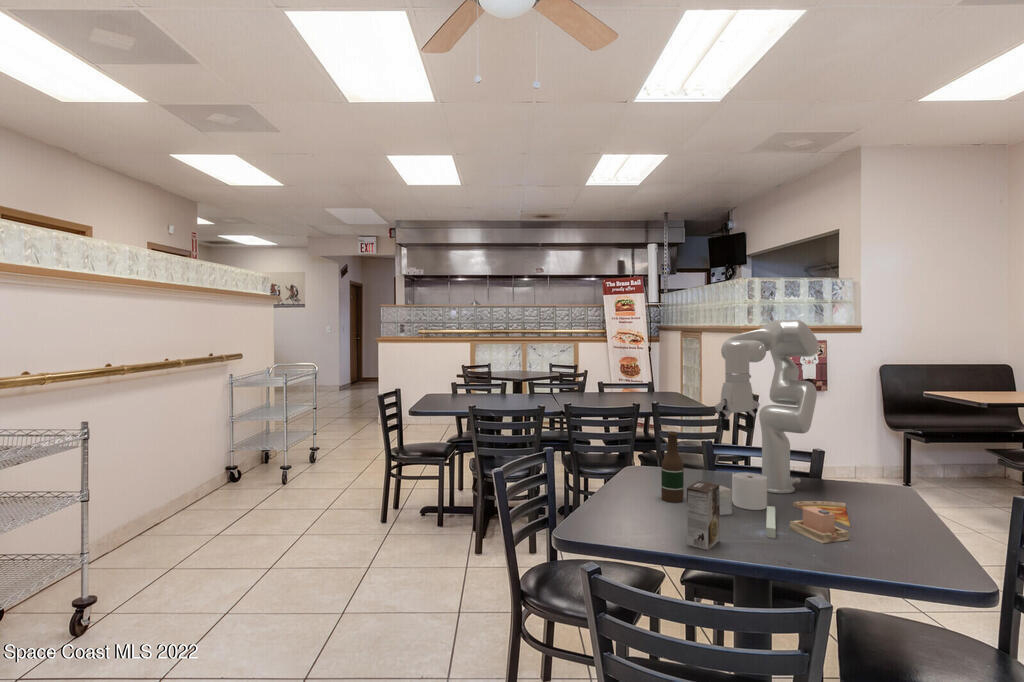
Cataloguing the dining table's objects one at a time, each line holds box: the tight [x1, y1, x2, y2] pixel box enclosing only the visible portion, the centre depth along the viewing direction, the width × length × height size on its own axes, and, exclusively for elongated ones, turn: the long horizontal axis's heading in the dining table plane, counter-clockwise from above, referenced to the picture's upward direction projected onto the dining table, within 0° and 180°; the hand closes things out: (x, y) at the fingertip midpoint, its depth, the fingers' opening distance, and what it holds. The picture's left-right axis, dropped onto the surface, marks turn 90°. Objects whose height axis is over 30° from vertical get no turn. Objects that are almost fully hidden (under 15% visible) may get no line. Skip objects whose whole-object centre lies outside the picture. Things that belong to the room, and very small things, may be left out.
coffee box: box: [686, 480, 721, 551], centre depth 155 cm, size 9×6×16 cm
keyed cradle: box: [789, 519, 850, 544], centre depth 161 cm, size 9×12×2 cm
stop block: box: [802, 507, 836, 535], centre depth 161 cm, size 4×7×7 cm, turn 16°
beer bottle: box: [660, 430, 685, 503], centre depth 196 cm, size 8×8×24 cm
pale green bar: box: [765, 505, 777, 539], centre depth 169 cm, size 22×2×3 cm, turn 155°
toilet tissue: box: [731, 470, 768, 511], centre depth 189 cm, size 11×12×10 cm
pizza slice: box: [792, 500, 851, 528], centre depth 181 cm, size 16×22×2 cm
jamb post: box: [719, 485, 733, 516], centre depth 181 cm, size 5×5×8 cm
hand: (737, 429), depth 186 cm, fingers open, 9 cm apart
